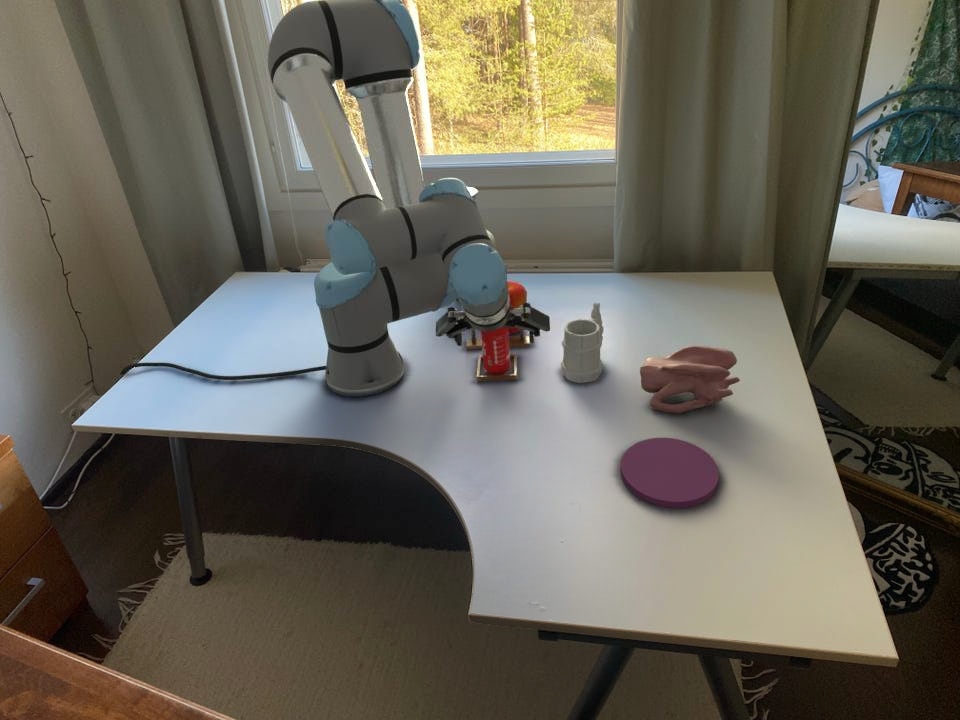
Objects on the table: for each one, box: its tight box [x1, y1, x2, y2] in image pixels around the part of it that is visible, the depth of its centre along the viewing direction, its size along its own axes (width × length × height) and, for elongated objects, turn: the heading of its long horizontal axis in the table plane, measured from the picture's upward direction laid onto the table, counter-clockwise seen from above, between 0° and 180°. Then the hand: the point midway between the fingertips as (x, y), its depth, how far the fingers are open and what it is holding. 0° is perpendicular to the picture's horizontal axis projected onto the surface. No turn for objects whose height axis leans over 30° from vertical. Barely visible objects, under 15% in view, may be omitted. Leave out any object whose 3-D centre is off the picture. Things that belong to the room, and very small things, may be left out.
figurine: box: [639, 345, 741, 415], centre depth 106 cm, size 12×10×15 cm
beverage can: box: [480, 327, 511, 375], centre depth 118 cm, size 5×5×12 cm
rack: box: [466, 307, 531, 382], centre depth 122 cm, size 15×13×8 cm
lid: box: [619, 437, 720, 509], centre depth 93 cm, size 14×14×1 cm
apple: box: [507, 280, 528, 335], centre depth 131 cm, size 9×8×12 cm
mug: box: [560, 302, 604, 384], centre depth 116 cm, size 8×12×12 cm, turn 146°
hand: (495, 337), depth 118 cm, fingers open, 13 cm apart
